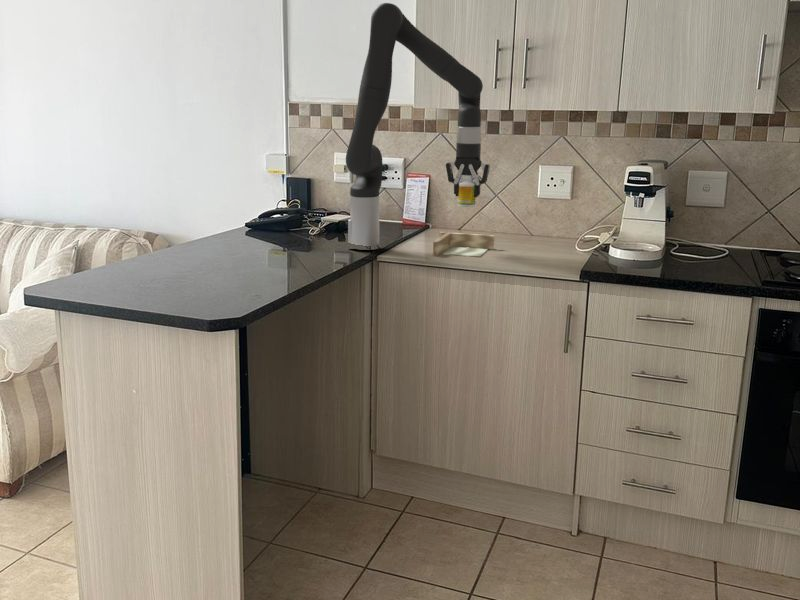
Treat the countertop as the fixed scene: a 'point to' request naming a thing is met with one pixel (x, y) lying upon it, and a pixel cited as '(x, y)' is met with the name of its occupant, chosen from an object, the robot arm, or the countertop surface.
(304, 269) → the countertop surface
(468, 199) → the supplement bottle
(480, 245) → the corner arena
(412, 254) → the countertop surface
